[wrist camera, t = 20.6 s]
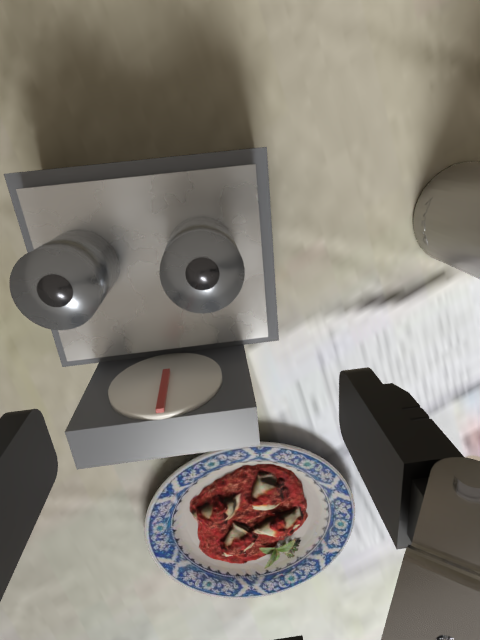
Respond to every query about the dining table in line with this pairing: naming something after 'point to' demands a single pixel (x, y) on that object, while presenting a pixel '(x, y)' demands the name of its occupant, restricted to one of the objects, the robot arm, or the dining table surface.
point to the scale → (164, 351)
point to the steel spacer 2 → (201, 266)
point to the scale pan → (154, 255)
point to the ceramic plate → (249, 520)
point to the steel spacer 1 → (64, 279)
